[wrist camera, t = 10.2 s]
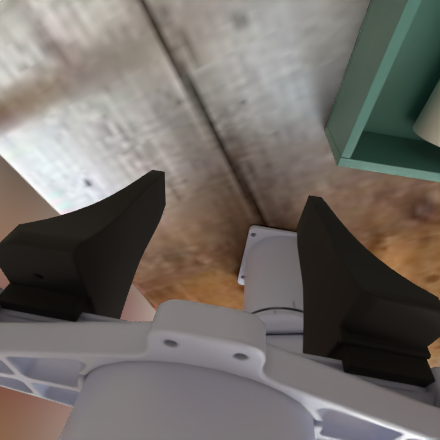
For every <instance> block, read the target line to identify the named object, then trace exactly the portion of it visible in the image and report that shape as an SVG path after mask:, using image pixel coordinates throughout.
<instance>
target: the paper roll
mask: <svg viewBox="0 0 440 440" xmlns="http://www.w3.org/2000/svg"><path fill="white" fill-rule="evenodd" d="M413 131H414V132H415V133H416V134H417V135H418V136H420V137H421V138H423V139H424V140H426V141H428V142H430V143H432V144H434V145H437V146H439V147H440V79H439V81H438V83H437V85H436V86H435V88H434V90H433V92H432V93H431V95H430V97H429V99H428V100H427V102H426V104H425V106H424V107H423V109H422V111H421V113H420V114H419V116H418V118H417V120H416V121H415V123H414V125H413Z"/></svg>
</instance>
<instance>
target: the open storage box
mask: <svg viewBox="0 0 440 440" xmlns="http://www.w3.org/2000/svg"><path fill="white" fill-rule="evenodd" d="M439 79H440V0H371V2H370V5H369V8H368V11H367V13H366V16H365V19H364V22H363V25H362V27H361V30H360V33H359V36H358V38H357V41H356V44H355V47H354V50H353V52H352V55H351V58H350V61H349V64H348V66H347V69H346V72H345V75H344V77H343V80H342V83H341V86H340V89H339V91H338V94H337V97H336V100H335V103H334V105H333V108H332V111H331V114H330V116H329V119H328V122H327V125H326V128H325V130H324V131H325V134H326V137H327V139H328V142H329V145H330V148H331V150H332V153H333V156H334V159H335V161H336V164H337V166H342V167H348V168H355V169H361V170H367V171H374V172H380V173H386V174H392V175H399V176H405V177H411V178H417V179H424V180H430V181H436V182H440V147H439V146H437V145H434V144H432V143H430V142H428V141H426V140H424V139H423V138H421V137H420V136H418V135H417V134H416V133H415V132H414V131H413V125H414V123H415V121H416V120H417V118H418V116H419V114H420V113H421V111H422V109H423V107H424V106H425V104H426V102H427V100H428V99H429V97H430V95H431V93H432V92H433V90H434V88H435V86H436V85H437V83H438V81H439Z"/></svg>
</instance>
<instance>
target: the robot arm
mask: <svg viewBox="0 0 440 440" xmlns="http://www.w3.org/2000/svg"><path fill="white" fill-rule="evenodd" d="M165 205H166V201H165V172H163V171H156V170H152V171H150V172H148V173H147V174H145V175H144V176H142V177H141V178H139V179H138V180H136V181H135V182H133V183H132V184H130V185H128V186H127V187H125V188H124V189H122V190H120V191H118V192H117V193H115V194H113V195H111V196H109V197H107V198H105V199H103V200H101V201H99V202H97V203H95V204H92V205H90V206H87V207H84V208H82V209H79V210H76V211H73V212H70V213H67V214H64V215H60V216H57V217H53V218H49V219H45V220H40V221H35V222H30V223H25V224H19V225H18V226H17V227H16V228H15V229H14V230H13V231H12V232H11V233H10V234H9V235H8V236H7V237H5V238H4V239H3V240H2V241H1V242H0V268H1V269H2V271H3V272H4V274H5V276H6V277H7V278H8V280H9V282H10V284H9V285H8V286H7V287H6V288H5V289H2V288H0V386H1V387H5V388H9V389H12V390H16V391H20V392H23V393H26V394H30V395H33V396H37V397H40V398H44V399H47V400H50V401H54V402H57V403H61V404H65V405H68V406H71V407H73V408H72V410H71V413H70V415H69V417H68V419H67V421H66V424H65V425H64V427H63V430H62V432H61V434H60V436H59V438H58V440H440V367H434V368H430V366H429V364H428V361H427V359H429V358H431V354H430V352H429V350H428V347H427V346H429V345H430V344H431V343H433V342H434V341H435V340H437V339H438V338H439V337H440V301H439V299H438V297H436V296H435V295H433V294H431V293H429V292H428V291H426V290H424V289H422V288H421V287H419V286H417V285H415V284H414V283H412V282H410V281H409V280H407V279H406V278H404V277H403V276H401V275H400V274H398V273H397V272H395V271H394V270H392V269H391V268H390V267H388V266H387V265H386V264H384V263H383V262H382V261H380V260H379V259H378V258H377V257H375V256H374V255H373V254H372V253H371V252H370V251H369V250H367V249H366V248H365V247H364V246H363V245H362V244H361V243H360V242H359V241H358V240H357V239H356V238H355V237H354V236H353V235H352V234H351V233H350V232H349V231H348V230H347V228H346V227H345V226H344V225H343V224H342V223H341V221H340V220H339V219H338V218H337V216H336V215H335V214H334V213H333V211H332V210H331V209H330V207H329V206H328V205H327V204H326V202H325V201H324V200H323V199H322V197H316V196H310V195H309V197H308V199H307V202H306V204H305V207H304V210H303V212H302V215H301V217H300V220H299V223H298V225H297V232H291V231H285V230H279V229H274V228H268V227H262V226H256V225H253V226H251V227H250V229H249V233H248V238H247V242H246V246H245V250H244V255H243V259H242V263H241V268H240V272H239V276H238V283H239V284H242V285H245V288H244V300H243V311H242V310H236V309H231V308H225V307H220V306H214V305H209V304H203V303H198V302H192V301H187V300H169V301H166V302H164V303H161V304H159V306H158V308H157V311H156V314H155V316H154V319H153V321H151V322H150V321H145V322H132V321H126V320H121V319H120V317H121V314H122V310H123V307H124V304H125V301H126V298H127V295H128V292H129V289H130V286H131V284H132V281H133V278H134V275H135V272H136V270H137V267H138V264H139V262H140V259H141V257H142V255H143V253H144V251H145V249H146V247H147V245H148V243H149V241H150V239H151V237H152V235H153V234H154V232H155V230H156V228H157V226H158V224H159V222H160V219H161V217H162V214H163V211H164V208H165ZM252 233H255V234H252Z"/></svg>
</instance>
